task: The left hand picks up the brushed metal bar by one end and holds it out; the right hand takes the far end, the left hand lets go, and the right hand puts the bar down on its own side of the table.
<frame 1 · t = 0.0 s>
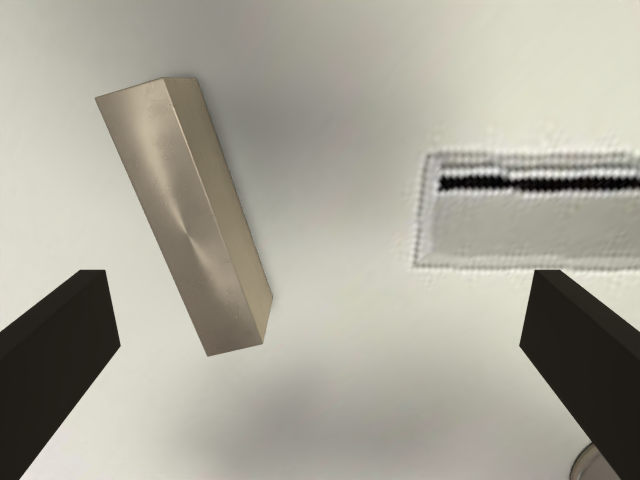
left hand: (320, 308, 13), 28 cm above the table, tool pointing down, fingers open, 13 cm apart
bar: (213, 205, 41), on the table
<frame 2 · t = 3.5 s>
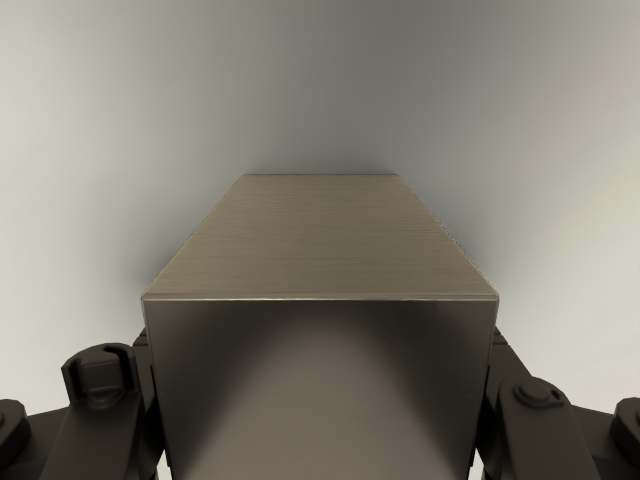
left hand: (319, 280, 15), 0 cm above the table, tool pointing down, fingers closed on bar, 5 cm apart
bar: (320, 435, 18), on the table, touching left hand
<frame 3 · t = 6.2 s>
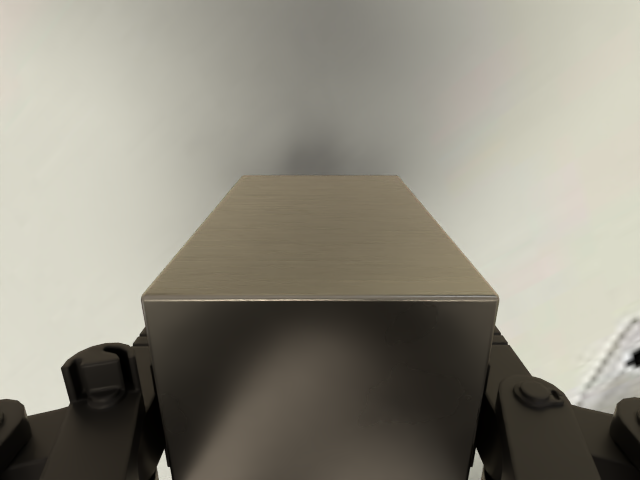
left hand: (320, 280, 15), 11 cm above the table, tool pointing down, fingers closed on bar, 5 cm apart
bar: (320, 435, 18), point 10 cm above the table, touching left hand
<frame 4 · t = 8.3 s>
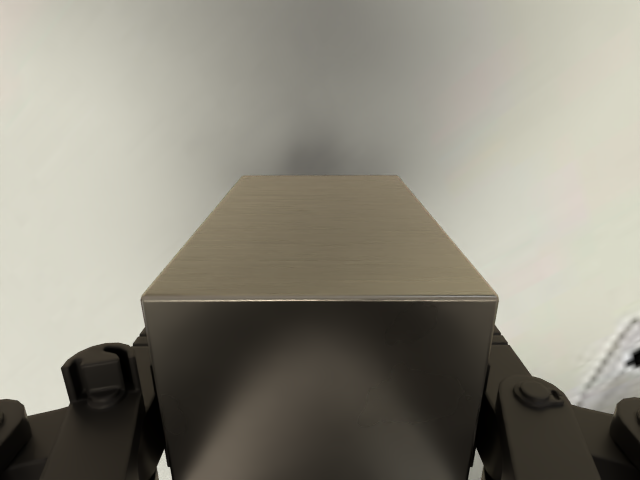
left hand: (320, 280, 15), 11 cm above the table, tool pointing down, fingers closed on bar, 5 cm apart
bar: (320, 435, 18), point 10 cm above the table, touching left hand, right hand
when the left hand's fingers open (11 cm above the table, at t = 9.1 s): bar stays where it is, held by the right hand.
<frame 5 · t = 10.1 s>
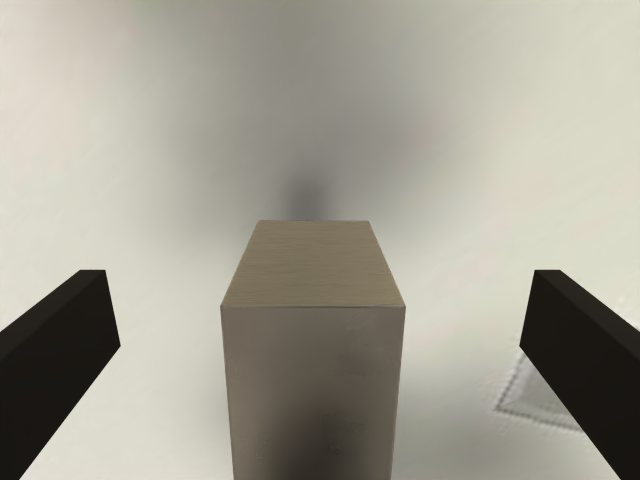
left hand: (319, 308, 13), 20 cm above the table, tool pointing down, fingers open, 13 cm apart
bar: (312, 413, 23), point 13 cm above the table, touching right hand
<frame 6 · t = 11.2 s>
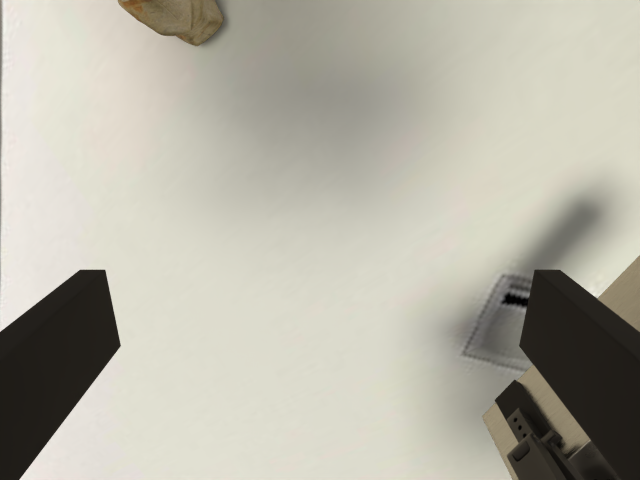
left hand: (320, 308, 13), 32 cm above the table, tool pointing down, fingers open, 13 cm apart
sculpture: (191, 5, 38), on the table
bar: (589, 342, 36), point 13 cm above the table, touching right hand
when the right hand's fingers open (2 cm above the table, at t = 14.0 s): bar drops 1 cm, on the table.
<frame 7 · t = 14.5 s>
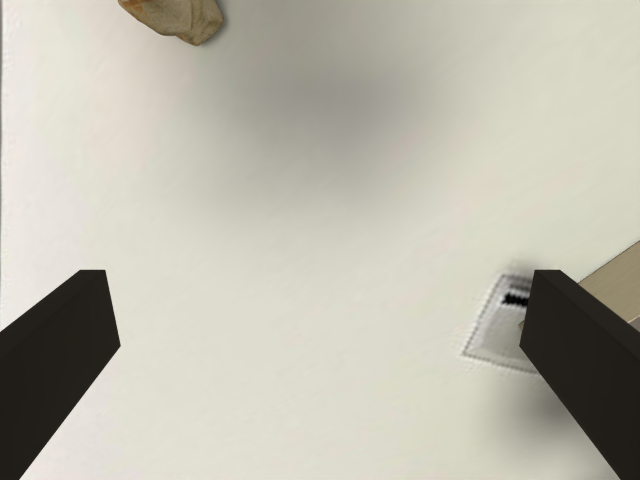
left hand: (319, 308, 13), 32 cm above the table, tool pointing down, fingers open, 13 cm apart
sculpture: (191, 5, 38), on the table
bar: (613, 281, 48), on the table
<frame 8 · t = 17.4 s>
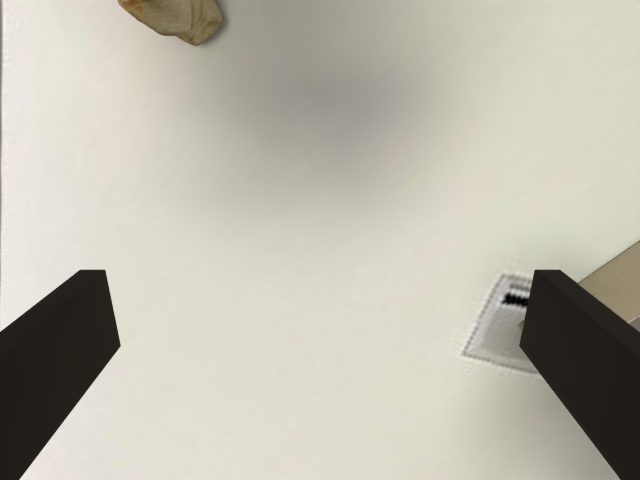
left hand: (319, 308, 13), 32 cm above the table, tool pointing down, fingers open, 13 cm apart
sculpture: (191, 5, 38), on the table
bar: (613, 281, 48), on the table
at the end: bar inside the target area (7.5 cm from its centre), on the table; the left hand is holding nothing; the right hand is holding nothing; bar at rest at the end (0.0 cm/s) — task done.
